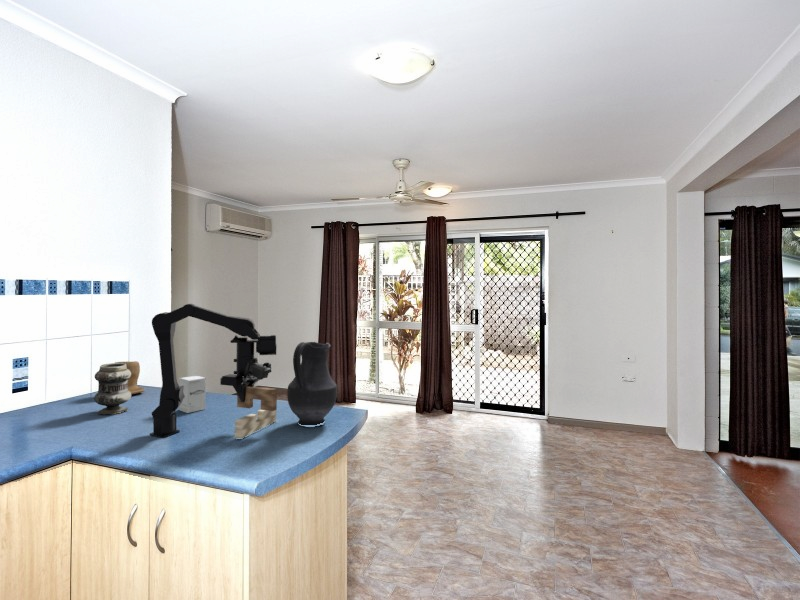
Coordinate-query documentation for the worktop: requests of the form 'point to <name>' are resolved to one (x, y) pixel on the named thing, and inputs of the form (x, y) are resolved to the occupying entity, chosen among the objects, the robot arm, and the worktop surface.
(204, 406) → the supplement box
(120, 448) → the worktop surface
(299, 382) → the pitcher
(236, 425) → the birch rail
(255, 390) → the walnut bar
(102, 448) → the worktop surface
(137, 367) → the curved wooden stand
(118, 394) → the apothecary jar
